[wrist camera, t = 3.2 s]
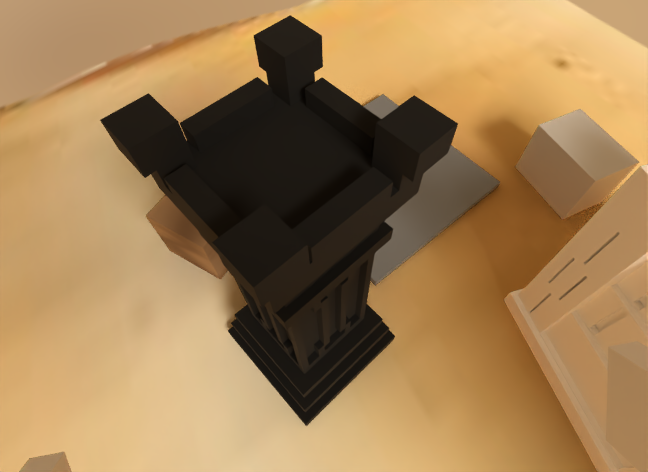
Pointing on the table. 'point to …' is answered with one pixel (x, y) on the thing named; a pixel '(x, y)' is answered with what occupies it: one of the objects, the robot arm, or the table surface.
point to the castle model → (591, 312)
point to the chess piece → (292, 205)
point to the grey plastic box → (574, 163)
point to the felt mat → (429, 202)
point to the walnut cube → (184, 237)
